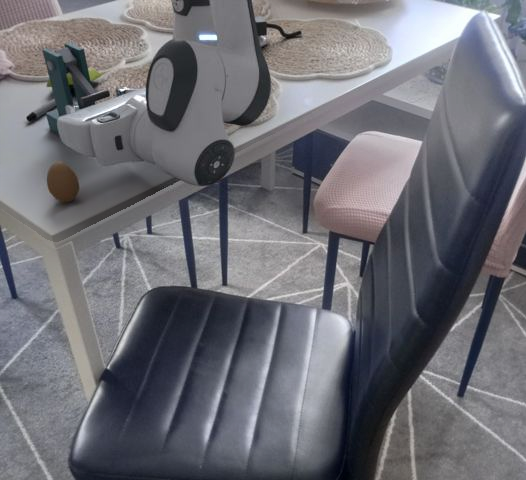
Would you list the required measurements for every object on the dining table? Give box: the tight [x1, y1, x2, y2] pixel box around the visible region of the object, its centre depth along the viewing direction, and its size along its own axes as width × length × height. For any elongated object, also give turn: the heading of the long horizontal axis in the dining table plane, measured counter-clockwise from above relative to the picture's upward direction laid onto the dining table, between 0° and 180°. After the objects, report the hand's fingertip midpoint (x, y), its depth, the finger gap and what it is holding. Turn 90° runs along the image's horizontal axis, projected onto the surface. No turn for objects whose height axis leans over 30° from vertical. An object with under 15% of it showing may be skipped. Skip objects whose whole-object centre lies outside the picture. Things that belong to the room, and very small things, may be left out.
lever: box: [54, 47, 111, 106], centre depth 96 cm, size 10×5×2 cm, turn 46°
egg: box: [46, 161, 80, 203], centre depth 87 cm, size 4×4×6 cm
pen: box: [26, 86, 76, 122], centre depth 113 cm, size 1×16×1 cm, turn 158°
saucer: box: [45, 66, 102, 88], centre depth 118 cm, size 9×9×2 cm
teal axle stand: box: [42, 41, 96, 136], centre depth 100 cm, size 10×7×14 cm
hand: (95, 100), depth 96 cm, fingers open, 8 cm apart
